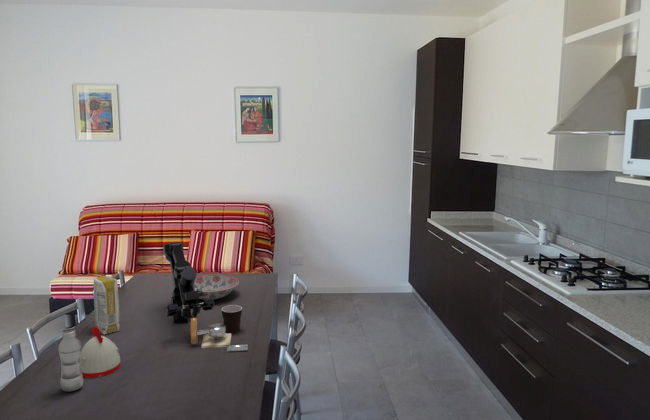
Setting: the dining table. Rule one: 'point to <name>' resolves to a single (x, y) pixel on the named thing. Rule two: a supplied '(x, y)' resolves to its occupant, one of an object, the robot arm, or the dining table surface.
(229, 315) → the coffee mug
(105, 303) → the juice carton
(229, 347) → the loose steel rod
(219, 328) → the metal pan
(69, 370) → the plastic bottle
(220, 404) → the dining table surface
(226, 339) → the square beige tile
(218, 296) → the ceramic bowl
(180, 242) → the robot arm
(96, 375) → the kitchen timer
